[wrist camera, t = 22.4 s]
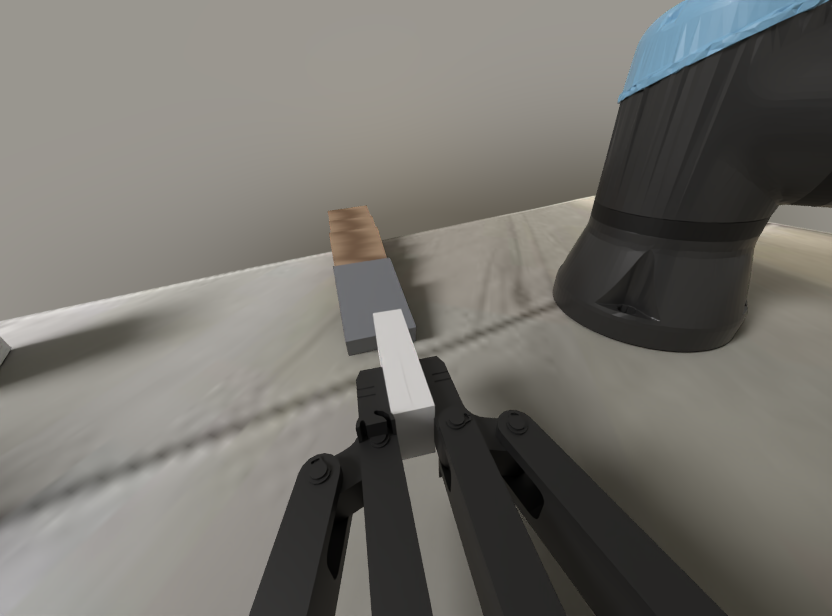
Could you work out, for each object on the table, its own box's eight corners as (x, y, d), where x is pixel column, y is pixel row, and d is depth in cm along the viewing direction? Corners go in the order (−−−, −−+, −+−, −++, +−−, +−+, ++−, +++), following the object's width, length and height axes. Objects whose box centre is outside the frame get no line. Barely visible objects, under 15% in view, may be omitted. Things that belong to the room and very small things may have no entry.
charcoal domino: (415, 341, 27) (390, 271, 33) (416, 327, 26) (389, 257, 32) (348, 355, 26) (336, 280, 32) (345, 342, 24) (333, 266, 31)
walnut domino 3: (395, 296, 34) (377, 238, 39) (395, 285, 32) (377, 226, 38) (342, 306, 33) (331, 245, 38) (339, 295, 31) (329, 232, 37)
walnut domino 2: (387, 277, 38) (372, 227, 44) (387, 266, 37) (372, 215, 42) (340, 285, 37) (331, 232, 43) (338, 274, 35) (328, 221, 41)
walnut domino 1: (383, 259, 43) (367, 216, 48) (383, 248, 41) (366, 205, 47) (342, 267, 42) (329, 221, 47) (340, 256, 40) (327, 211, 45)
